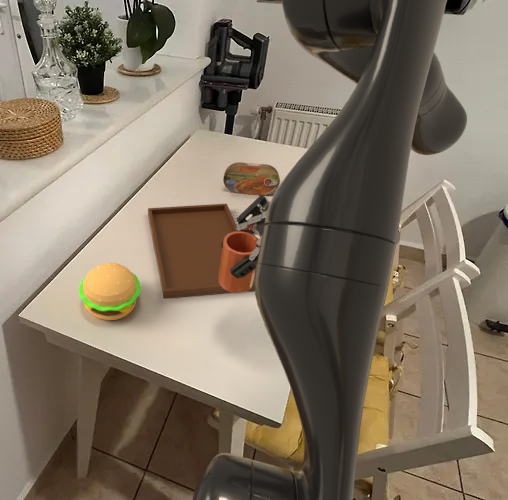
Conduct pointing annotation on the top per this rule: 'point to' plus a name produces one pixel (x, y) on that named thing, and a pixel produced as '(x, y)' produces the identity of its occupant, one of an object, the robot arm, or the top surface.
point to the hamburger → (109, 291)
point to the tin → (251, 178)
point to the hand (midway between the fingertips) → (228, 260)
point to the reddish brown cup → (236, 261)
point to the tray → (190, 247)
